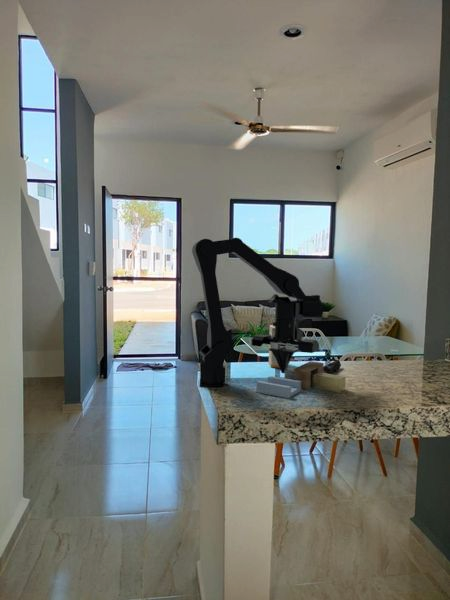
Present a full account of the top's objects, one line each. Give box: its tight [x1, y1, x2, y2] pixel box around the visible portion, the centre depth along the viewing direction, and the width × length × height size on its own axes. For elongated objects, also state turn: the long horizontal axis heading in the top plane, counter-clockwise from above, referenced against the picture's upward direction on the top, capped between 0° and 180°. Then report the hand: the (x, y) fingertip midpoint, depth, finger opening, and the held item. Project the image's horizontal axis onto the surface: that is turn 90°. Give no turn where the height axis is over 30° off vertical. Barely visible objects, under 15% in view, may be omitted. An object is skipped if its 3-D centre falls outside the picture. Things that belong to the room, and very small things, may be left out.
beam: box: [293, 360, 325, 391], centre depth 117 cm, size 4×12×5 cm, turn 147°
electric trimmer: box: [323, 359, 342, 374], centre depth 132 cm, size 4×16×3 cm, turn 148°
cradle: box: [255, 375, 302, 399], centre depth 109 cm, size 9×8×3 cm
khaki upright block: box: [315, 373, 346, 393], centre depth 113 cm, size 7×4×4 cm, turn 50°
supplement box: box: [268, 324, 286, 369], centre depth 140 cm, size 8×5×13 cm, turn 179°
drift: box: [284, 366, 319, 389], centre depth 117 cm, size 9×4×4 cm, turn 50°
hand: (283, 372), depth 120 cm, fingers closed
